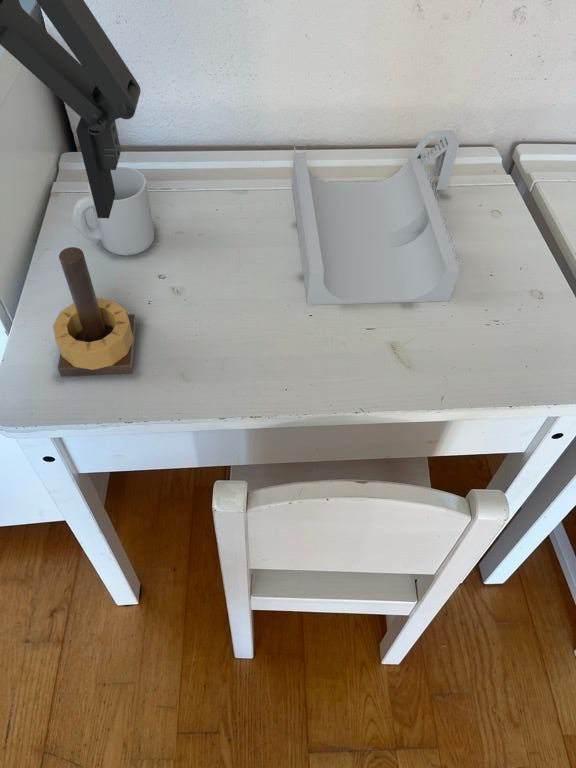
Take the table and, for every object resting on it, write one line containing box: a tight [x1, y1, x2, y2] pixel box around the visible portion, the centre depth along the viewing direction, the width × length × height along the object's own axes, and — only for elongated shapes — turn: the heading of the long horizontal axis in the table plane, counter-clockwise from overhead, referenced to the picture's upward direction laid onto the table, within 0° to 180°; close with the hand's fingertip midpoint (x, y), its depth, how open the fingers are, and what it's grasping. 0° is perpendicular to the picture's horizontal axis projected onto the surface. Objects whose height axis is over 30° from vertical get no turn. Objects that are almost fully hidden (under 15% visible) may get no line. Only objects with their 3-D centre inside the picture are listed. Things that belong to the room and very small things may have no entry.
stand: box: [57, 246, 137, 378], centre depth 69 cm, size 8×8×14 cm
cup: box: [72, 166, 156, 257], centre depth 83 cm, size 7×10×9 cm
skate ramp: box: [291, 121, 463, 306], centre depth 85 cm, size 25×23×10 cm
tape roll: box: [52, 297, 134, 370], centre depth 72 cm, size 8×8×3 cm
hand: (8, 203), depth 44 cm, fingers open, 13 cm apart
